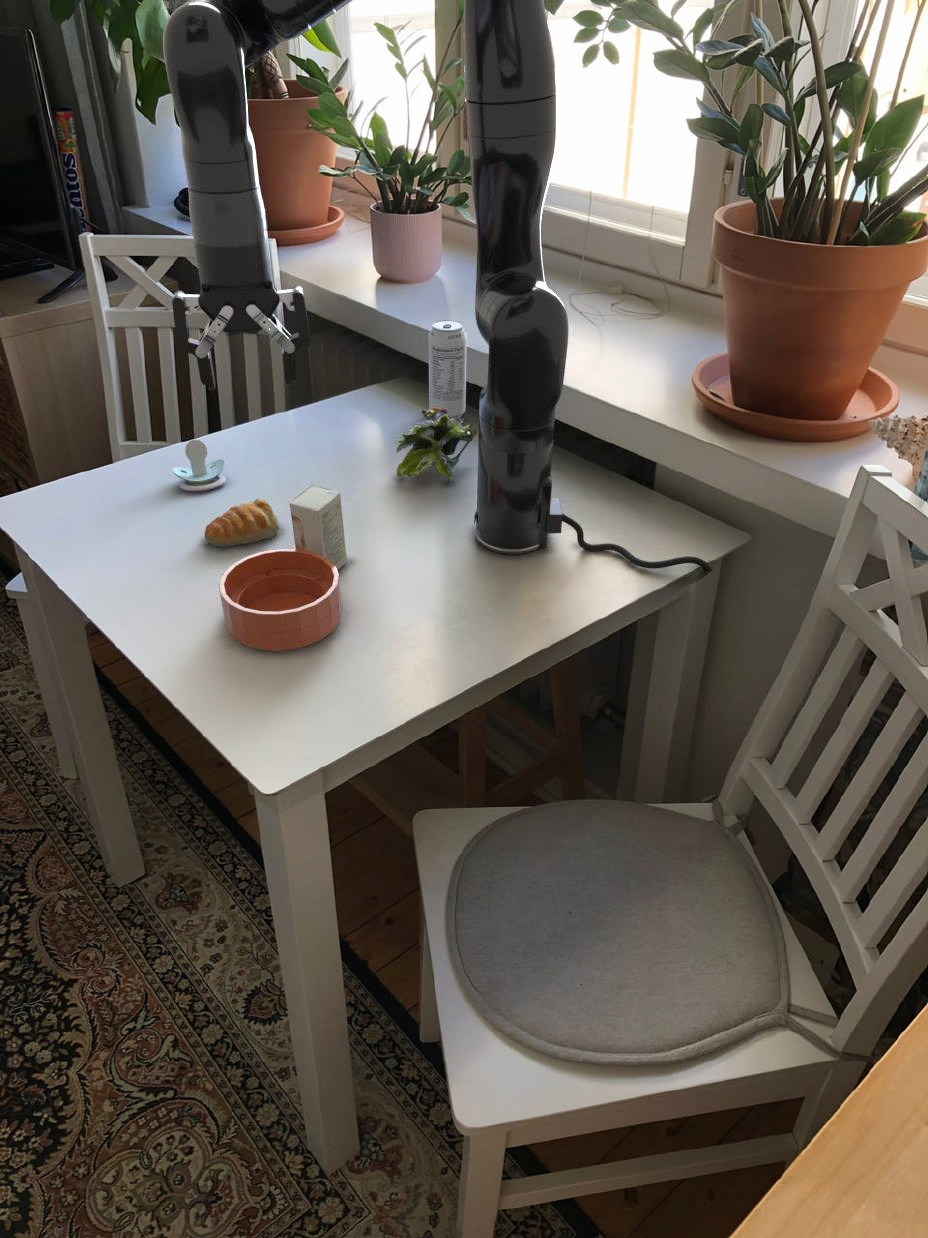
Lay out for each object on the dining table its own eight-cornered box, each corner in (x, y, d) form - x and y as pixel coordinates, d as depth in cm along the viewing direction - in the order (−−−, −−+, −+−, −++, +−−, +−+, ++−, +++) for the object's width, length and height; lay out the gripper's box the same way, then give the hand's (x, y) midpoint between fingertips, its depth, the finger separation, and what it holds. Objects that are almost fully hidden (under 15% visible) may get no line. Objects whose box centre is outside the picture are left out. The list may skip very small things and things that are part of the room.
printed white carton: (319, 553, 119) (312, 483, 113) (348, 562, 117) (343, 491, 111) (295, 573, 115) (287, 501, 109) (324, 582, 113) (318, 510, 107)
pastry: (220, 557, 118) (215, 531, 115) (196, 535, 122) (191, 510, 120) (284, 534, 122) (281, 508, 120) (260, 514, 127) (256, 489, 124)
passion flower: (435, 492, 143) (471, 422, 141) (464, 512, 134) (503, 438, 132) (374, 463, 137) (411, 389, 135) (400, 481, 128) (440, 403, 126)
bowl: (347, 587, 112) (344, 549, 109) (335, 655, 102) (331, 614, 99) (238, 586, 112) (232, 548, 109) (214, 654, 102) (207, 613, 98)
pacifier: (232, 488, 133) (223, 469, 137) (226, 449, 129) (217, 430, 133) (180, 497, 130) (173, 478, 135) (172, 458, 127) (165, 439, 131)
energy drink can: (467, 408, 156) (469, 319, 147) (462, 423, 151) (464, 332, 142) (432, 406, 157) (431, 317, 148) (426, 420, 152) (425, 330, 143)
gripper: (155, 246, 91) (184, 402, 101) (301, 240, 93) (316, 393, 103) (161, 227, 97) (188, 376, 107) (299, 222, 99) (312, 368, 109)
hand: (250, 384), depth 105 cm, fingers open, 8 cm apart
